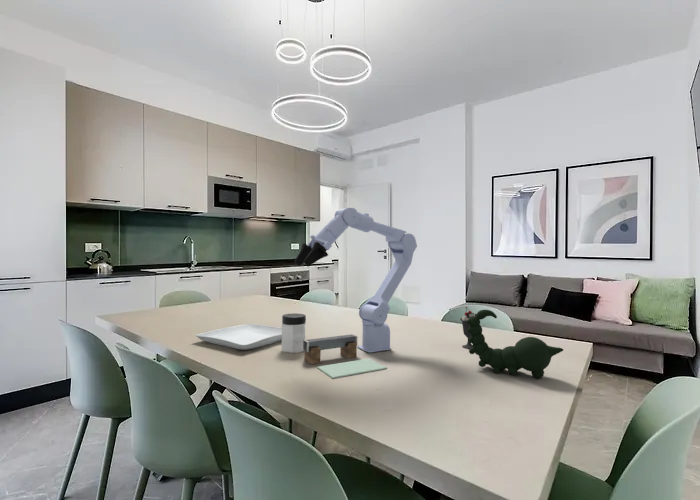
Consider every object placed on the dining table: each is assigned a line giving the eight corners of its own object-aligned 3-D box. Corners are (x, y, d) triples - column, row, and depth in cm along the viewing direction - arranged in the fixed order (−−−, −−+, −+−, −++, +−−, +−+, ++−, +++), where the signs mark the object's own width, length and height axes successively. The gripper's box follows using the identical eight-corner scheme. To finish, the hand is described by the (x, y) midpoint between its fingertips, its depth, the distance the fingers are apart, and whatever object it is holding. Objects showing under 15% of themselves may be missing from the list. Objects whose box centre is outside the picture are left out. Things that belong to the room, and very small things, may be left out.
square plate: (298, 339, 144) (298, 329, 144) (243, 356, 121) (244, 344, 121) (250, 330, 159) (250, 321, 159) (193, 343, 136) (193, 333, 136)
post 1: (313, 358, 118) (313, 343, 118) (320, 362, 114) (320, 347, 114) (304, 359, 117) (304, 344, 117) (311, 364, 112) (311, 348, 112)
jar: (286, 354, 122) (286, 318, 122) (277, 348, 129) (277, 314, 129) (310, 350, 127) (310, 316, 127) (300, 345, 134) (300, 312, 134)
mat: (368, 359, 117) (368, 358, 117) (386, 368, 109) (386, 367, 109) (317, 368, 108) (317, 366, 108) (332, 378, 100) (332, 377, 100)
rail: (352, 343, 124) (352, 334, 124) (357, 345, 122) (357, 336, 122) (303, 349, 115) (303, 340, 115) (306, 352, 113) (307, 342, 113)
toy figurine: (467, 375, 108) (565, 386, 95) (462, 311, 109) (558, 312, 96) (475, 367, 116) (566, 375, 103) (470, 307, 117) (560, 307, 104)
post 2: (348, 352, 125) (348, 339, 125) (356, 357, 120) (356, 342, 120) (340, 354, 123) (340, 340, 123) (348, 358, 118) (348, 343, 118)
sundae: (458, 348, 132) (459, 306, 132) (460, 344, 138) (461, 304, 138) (478, 350, 130) (478, 308, 130) (479, 346, 136) (479, 305, 136)
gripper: (312, 227, 126) (284, 254, 121) (331, 224, 113) (301, 255, 108) (325, 242, 128) (298, 269, 123) (345, 241, 116) (316, 271, 111)
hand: (301, 264), depth 116 cm, fingers open, 7 cm apart
